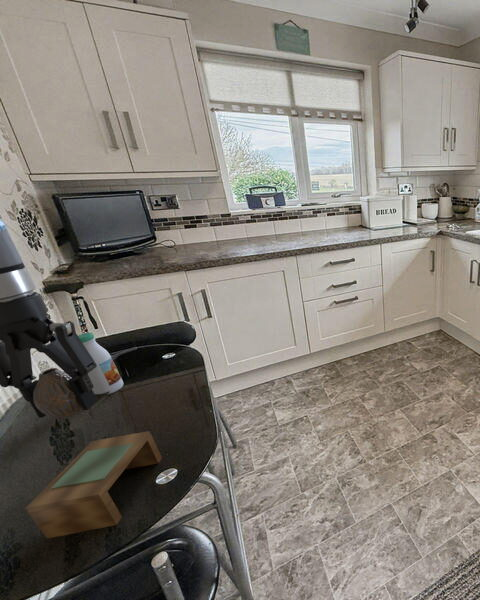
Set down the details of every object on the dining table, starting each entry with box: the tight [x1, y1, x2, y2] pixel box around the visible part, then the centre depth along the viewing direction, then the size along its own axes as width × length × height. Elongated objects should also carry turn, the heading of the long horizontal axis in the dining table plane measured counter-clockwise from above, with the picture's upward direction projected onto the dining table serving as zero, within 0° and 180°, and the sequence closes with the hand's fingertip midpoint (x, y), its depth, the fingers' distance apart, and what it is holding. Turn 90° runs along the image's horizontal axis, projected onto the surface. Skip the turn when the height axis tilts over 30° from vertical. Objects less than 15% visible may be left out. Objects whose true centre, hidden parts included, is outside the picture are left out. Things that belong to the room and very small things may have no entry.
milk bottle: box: [78, 332, 124, 396], centre depth 103 cm, size 8×8×20 cm
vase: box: [33, 367, 82, 418], centre depth 61 cm, size 7×7×9 cm
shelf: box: [24, 430, 163, 540], centre depth 67 cm, size 12×16×8 cm
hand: (69, 409), depth 63 cm, fingers closed on vase, 7 cm apart
